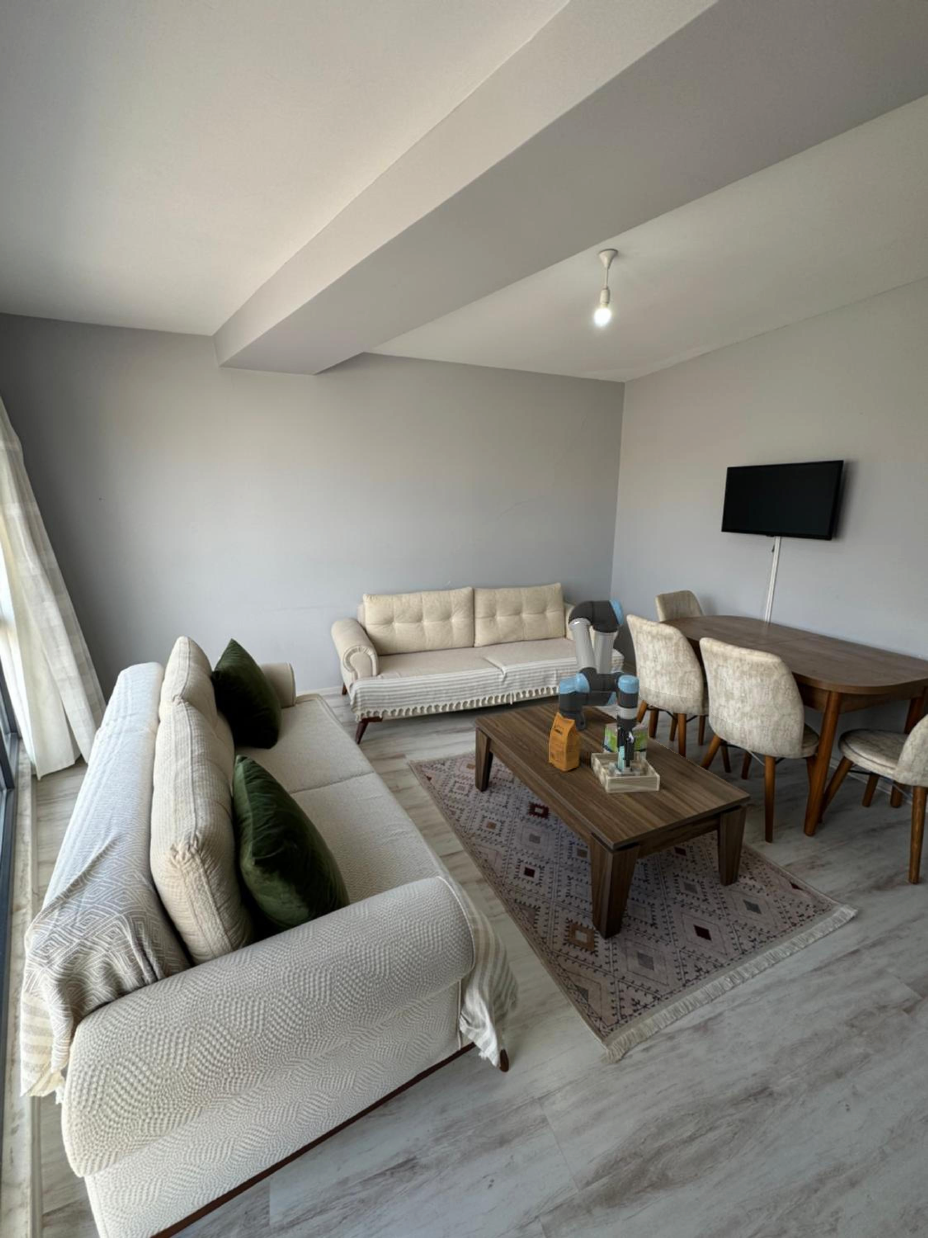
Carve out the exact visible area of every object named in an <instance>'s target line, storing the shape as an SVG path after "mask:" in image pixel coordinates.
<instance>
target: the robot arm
mask: <svg viewBox="0 0 928 1238" xmlns="http://www.w3.org/2000/svg"><path fill="white" fill-rule="evenodd" d="M624 618H625V617H624V610H623V606H622V604H621V602H620V601H619V600H611V599H609V600H608V599H607V600H605V599H604V600H603V599H600V600H583V601H580V602H578V603H577V604H575V606H573V608H572V609H571V611H570V613H569V616H568V620H567V621H568V622H567V623H568V629H569V631H570V632H571V634H572V640H573V645H574V654H575V659H576V665H577V672H578V673H576V674H575V675H574V677H569V678H565V679H562V680H561V681H560V682H559V685H558V689H557V690H558V710H557V712H559V713H560V714H561V715H562V717H563V718H566V719H572V720H575V721H576V723H575V726H576V728H577V730H578V732H579V731H582V730H584V729H585V728H586V726H587V725H586V723H587V722H586V718H585V716H584V715H585V714H584V712H583V711H584V710H583V707H609V706H612V705H614V703H615V701H616V697H617V706H616V707H615V708H616V709H615V710H616V711H617V712H616V721H615V723H617V748H618V751H619V752H620V747H621V746H624V758H623V772H628V771H630V764H631V760H634V747H635V741H636V738H635V737H633V736H632V735H633V731H632V729H633V728H634V727H636V726H637V722H638V710H639V705H638V704H639V694H640V693H639V692H640V680H639V678H638V677H636V676H634V675H630V674H627V673H625V671H622V670H615V671H613V672H611V671H612V664H613V652H614V651H613V650H614V641H615V634H617V632H618V631H619V628H620V627H622V626H623V625H624V620H625V619H624ZM591 627H592V630H593V632H594V645H593V643H592V637H591V632H590V628H591ZM618 768H619V758H618Z"/></svg>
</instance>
